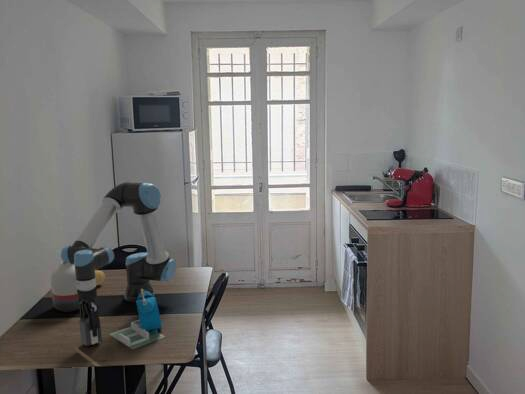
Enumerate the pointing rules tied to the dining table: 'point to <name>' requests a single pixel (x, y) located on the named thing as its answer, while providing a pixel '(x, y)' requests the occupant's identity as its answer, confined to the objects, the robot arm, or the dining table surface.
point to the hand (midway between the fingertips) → (91, 340)
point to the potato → (99, 277)
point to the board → (129, 331)
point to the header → (141, 332)
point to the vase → (64, 288)
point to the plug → (88, 331)
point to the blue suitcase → (148, 311)
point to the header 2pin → (135, 325)
